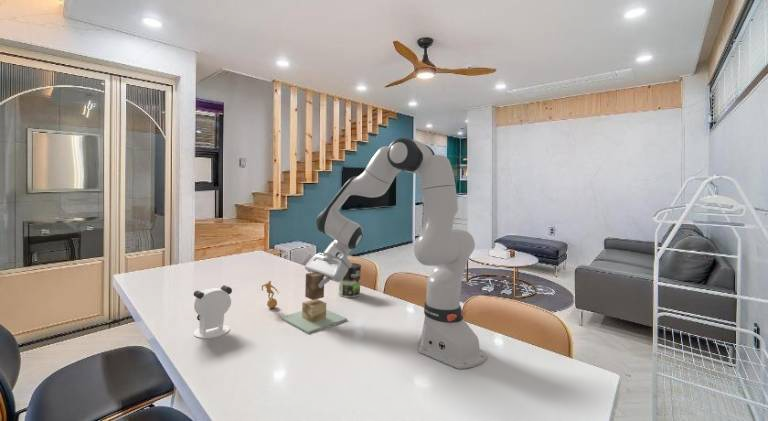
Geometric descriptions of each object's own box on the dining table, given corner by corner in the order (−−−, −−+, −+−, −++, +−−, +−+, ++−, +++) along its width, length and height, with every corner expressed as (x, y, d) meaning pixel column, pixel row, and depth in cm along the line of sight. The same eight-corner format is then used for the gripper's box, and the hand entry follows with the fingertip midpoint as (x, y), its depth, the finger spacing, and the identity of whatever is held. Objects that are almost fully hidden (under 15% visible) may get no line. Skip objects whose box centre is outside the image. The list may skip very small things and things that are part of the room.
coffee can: (364, 294, 170) (365, 265, 169) (349, 299, 161) (350, 269, 160) (348, 289, 176) (349, 261, 175) (334, 294, 168) (334, 265, 166)
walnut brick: (323, 297, 135) (324, 274, 135) (313, 300, 132) (313, 276, 131) (316, 294, 139) (316, 271, 138) (305, 296, 135) (305, 273, 134)
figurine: (283, 307, 147) (283, 279, 146) (274, 312, 142) (274, 283, 141) (266, 304, 150) (267, 277, 149) (257, 309, 144) (257, 280, 143)
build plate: (347, 320, 136) (347, 318, 136) (308, 333, 123) (308, 331, 123) (319, 308, 149) (319, 306, 148) (280, 319, 135) (280, 316, 135)
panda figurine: (222, 321, 131) (222, 282, 130) (237, 330, 124) (237, 288, 123) (187, 331, 122) (187, 289, 120) (202, 341, 114) (202, 296, 113)
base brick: (326, 318, 136) (326, 302, 136) (312, 322, 131) (312, 306, 131) (316, 313, 140) (316, 298, 140) (302, 317, 136) (302, 302, 135)
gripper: (314, 247, 146) (293, 274, 140) (346, 255, 132) (325, 286, 126) (322, 256, 150) (302, 283, 143) (355, 265, 136) (334, 295, 129)
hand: (313, 284), depth 134 cm, fingers closed on walnut brick, 5 cm apart
